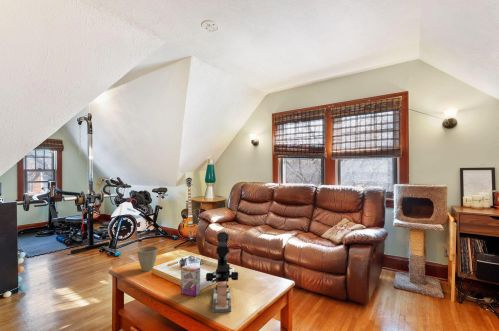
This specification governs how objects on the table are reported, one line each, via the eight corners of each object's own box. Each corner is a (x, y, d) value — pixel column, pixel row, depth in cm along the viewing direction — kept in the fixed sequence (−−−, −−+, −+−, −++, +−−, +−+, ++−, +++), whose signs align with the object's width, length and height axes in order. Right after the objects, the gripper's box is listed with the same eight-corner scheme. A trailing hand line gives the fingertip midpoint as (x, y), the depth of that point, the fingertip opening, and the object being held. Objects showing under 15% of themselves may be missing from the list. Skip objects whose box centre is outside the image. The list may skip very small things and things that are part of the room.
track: (214, 294, 158) (214, 288, 158) (230, 293, 159) (230, 287, 159) (212, 312, 139) (212, 305, 139) (231, 311, 139) (231, 304, 140)
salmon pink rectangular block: (215, 302, 145) (215, 281, 145) (228, 302, 146) (228, 280, 146) (215, 309, 138) (215, 286, 138) (228, 308, 139) (228, 286, 139)
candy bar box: (180, 294, 159) (180, 267, 159) (185, 290, 163) (185, 264, 164) (196, 297, 155) (196, 269, 155) (200, 293, 160) (200, 266, 160)
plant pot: (137, 275, 187) (137, 253, 187) (136, 267, 201) (137, 247, 201) (158, 271, 193) (158, 250, 194) (157, 264, 207) (157, 245, 207)
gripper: (206, 259, 150) (204, 286, 138) (238, 258, 151) (239, 285, 140) (207, 267, 157) (205, 294, 146) (237, 266, 159) (238, 293, 148)
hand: (222, 291), depth 145 cm, fingers closed, pressing on salmon pink rectangular block
